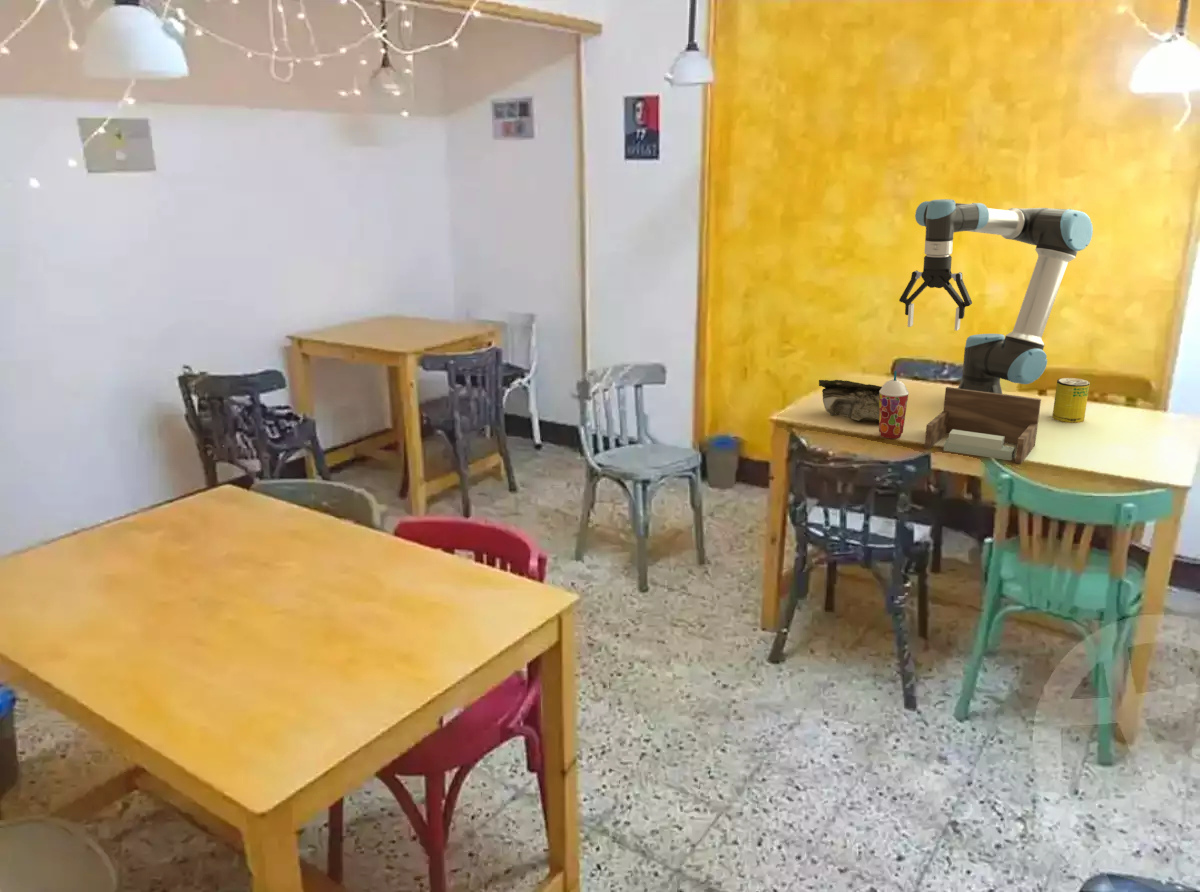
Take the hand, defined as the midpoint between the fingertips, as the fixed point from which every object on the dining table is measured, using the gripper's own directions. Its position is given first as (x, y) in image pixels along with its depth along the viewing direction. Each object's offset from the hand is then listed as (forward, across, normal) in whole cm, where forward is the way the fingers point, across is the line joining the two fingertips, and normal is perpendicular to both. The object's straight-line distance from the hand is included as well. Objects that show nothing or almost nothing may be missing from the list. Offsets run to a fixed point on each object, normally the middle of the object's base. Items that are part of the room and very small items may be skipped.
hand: (933, 327), depth 275 cm
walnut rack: (+31, +18, -10) cm, 37 cm away
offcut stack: (+31, +19, -16) cm, 40 cm away
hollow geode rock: (+31, -22, +1) cm, 38 cm away
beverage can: (+33, +34, +32) cm, 57 cm away
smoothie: (+31, -7, -13) cm, 34 cm away
